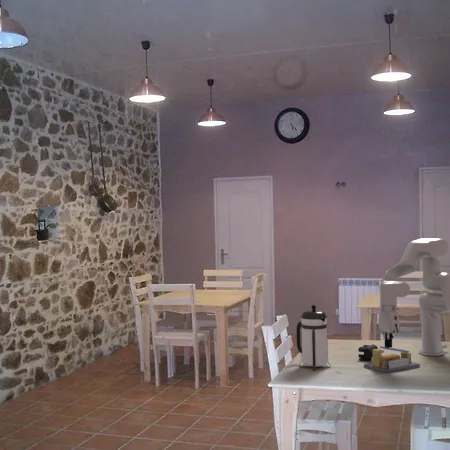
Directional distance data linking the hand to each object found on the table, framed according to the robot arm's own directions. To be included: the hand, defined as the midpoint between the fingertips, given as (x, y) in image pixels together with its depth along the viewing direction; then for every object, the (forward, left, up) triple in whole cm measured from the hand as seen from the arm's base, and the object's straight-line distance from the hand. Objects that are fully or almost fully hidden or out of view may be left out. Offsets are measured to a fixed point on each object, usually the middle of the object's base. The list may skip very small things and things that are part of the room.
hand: (388, 347), depth 295 cm
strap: (-4, 0, -2) cm, 4 cm away
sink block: (-2, 0, -10) cm, 10 cm away
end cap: (-4, -19, -10) cm, 22 cm away
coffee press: (+29, -21, -10) cm, 37 cm away
